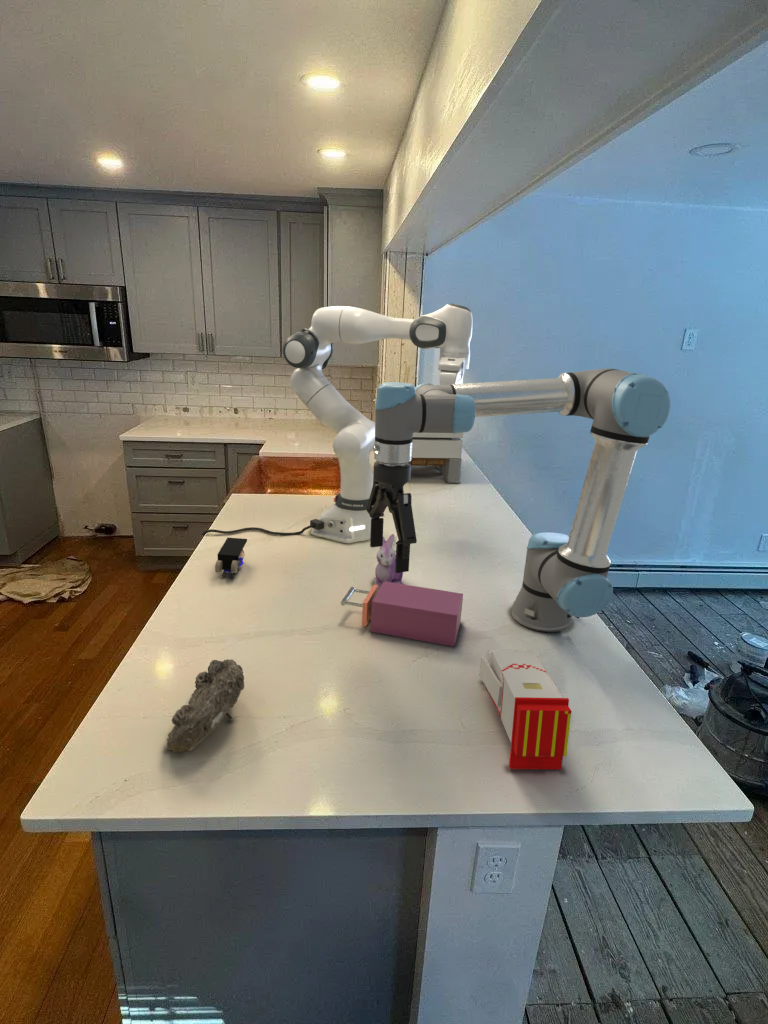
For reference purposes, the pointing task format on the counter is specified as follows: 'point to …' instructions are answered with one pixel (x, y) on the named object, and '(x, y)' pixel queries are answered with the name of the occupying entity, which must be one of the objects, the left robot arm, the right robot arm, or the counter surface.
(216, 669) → the fossil
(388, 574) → the figurine
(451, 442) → the transformer
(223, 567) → the figurine character
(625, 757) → the counter surface
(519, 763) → the toy
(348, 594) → the drawer
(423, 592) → the cabinet
